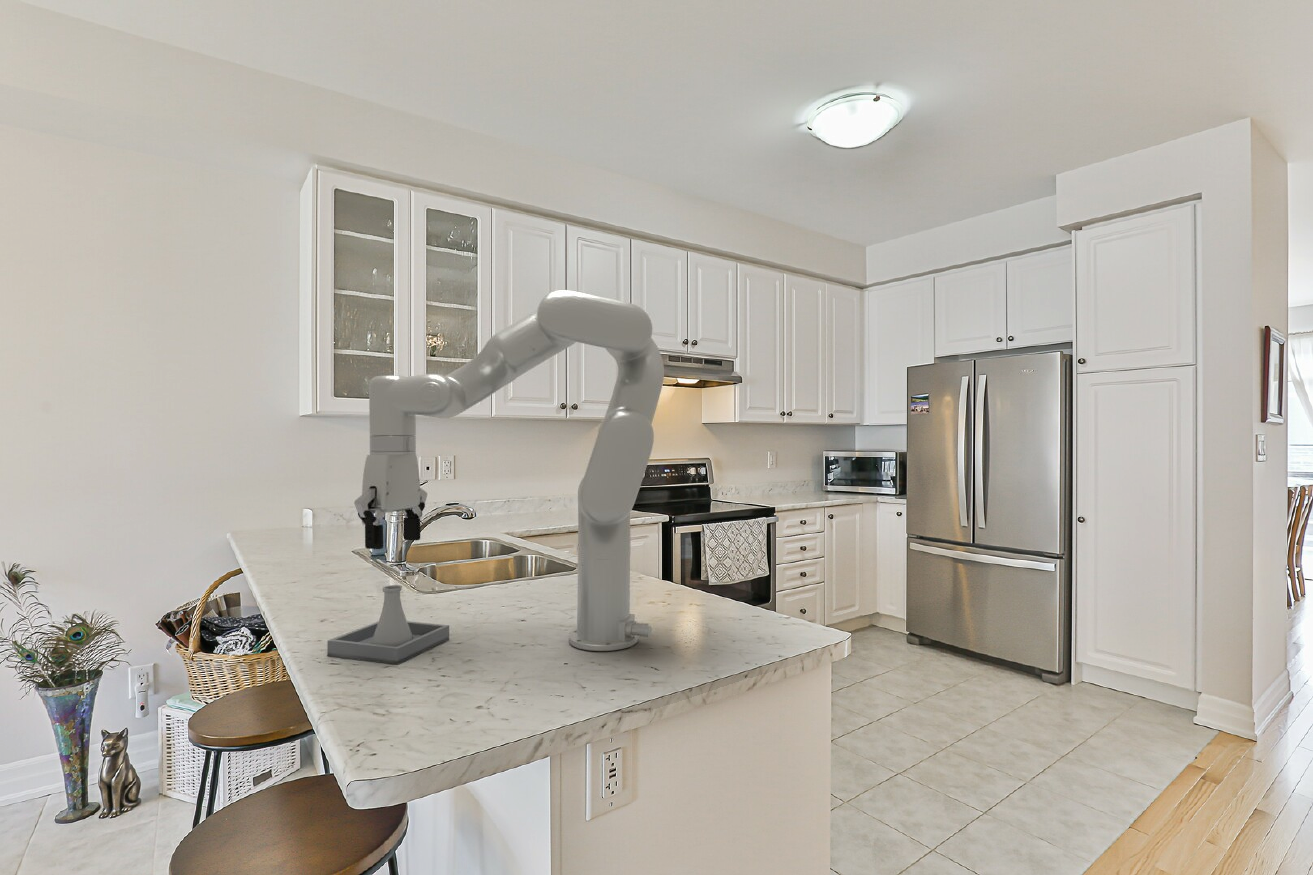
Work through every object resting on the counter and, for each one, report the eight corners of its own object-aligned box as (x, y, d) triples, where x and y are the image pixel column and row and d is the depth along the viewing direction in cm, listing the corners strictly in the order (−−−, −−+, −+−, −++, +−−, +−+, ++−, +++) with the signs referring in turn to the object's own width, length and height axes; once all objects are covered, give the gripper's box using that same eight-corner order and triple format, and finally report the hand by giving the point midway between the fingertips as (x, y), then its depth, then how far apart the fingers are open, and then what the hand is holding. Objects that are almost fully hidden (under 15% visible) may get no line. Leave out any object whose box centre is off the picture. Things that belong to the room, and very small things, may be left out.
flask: (420, 637, 117) (420, 582, 117) (404, 650, 110) (404, 591, 110) (380, 637, 117) (380, 582, 117) (361, 650, 110) (362, 591, 110)
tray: (449, 639, 118) (449, 625, 118) (397, 664, 105) (397, 648, 105) (385, 632, 122) (385, 618, 122) (327, 655, 109) (327, 640, 109)
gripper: (407, 446, 123) (408, 536, 123) (338, 447, 107) (339, 551, 106) (441, 445, 121) (442, 537, 121) (376, 447, 104) (376, 553, 104)
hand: (393, 544), depth 114 cm, fingers open, 9 cm apart
